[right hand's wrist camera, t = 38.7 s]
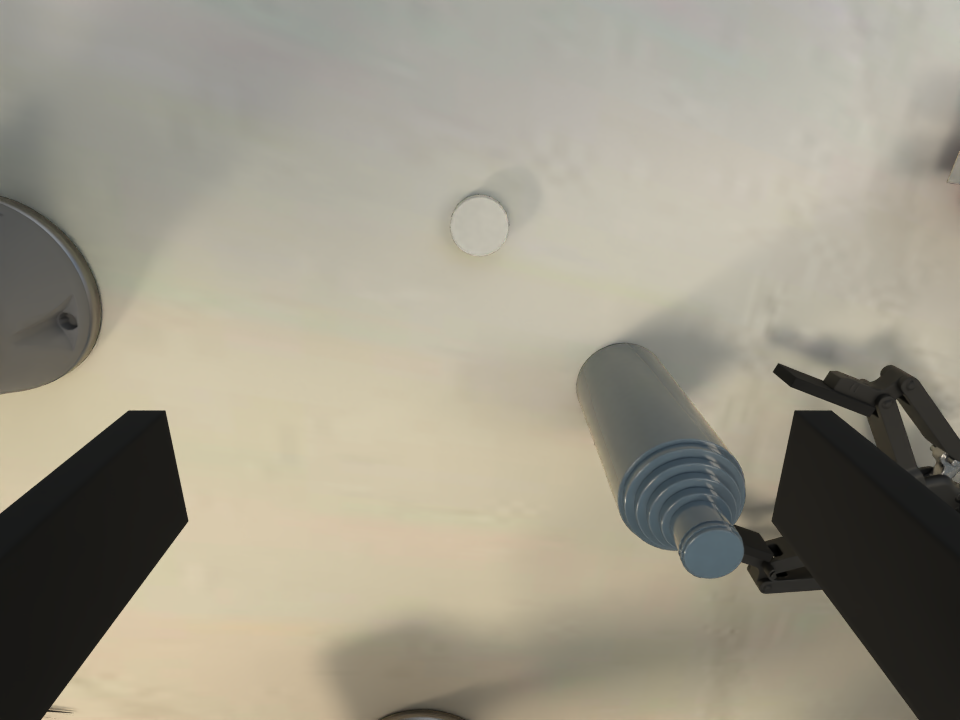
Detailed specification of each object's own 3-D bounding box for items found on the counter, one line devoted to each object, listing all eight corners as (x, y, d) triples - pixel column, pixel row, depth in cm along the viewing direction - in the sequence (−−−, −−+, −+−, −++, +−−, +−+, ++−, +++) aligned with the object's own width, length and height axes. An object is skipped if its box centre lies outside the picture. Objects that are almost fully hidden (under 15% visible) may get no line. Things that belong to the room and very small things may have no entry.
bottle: (602, 329, 48) (688, 470, 28) (681, 363, 49) (819, 522, 29) (561, 405, 51) (613, 585, 31) (638, 436, 52) (737, 629, 32)
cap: (502, 256, 46) (503, 260, 44) (447, 247, 46) (446, 251, 44) (512, 199, 45) (513, 202, 43) (455, 190, 44) (454, 192, 43)
